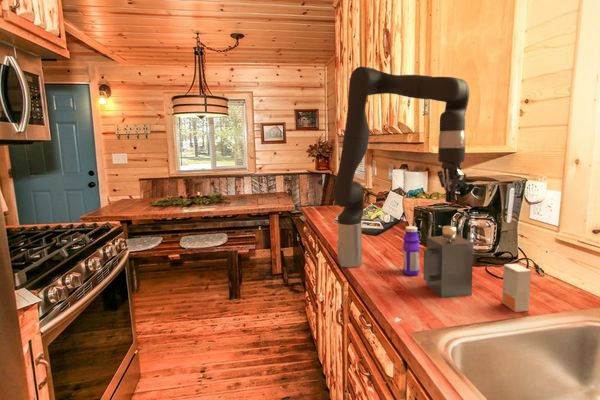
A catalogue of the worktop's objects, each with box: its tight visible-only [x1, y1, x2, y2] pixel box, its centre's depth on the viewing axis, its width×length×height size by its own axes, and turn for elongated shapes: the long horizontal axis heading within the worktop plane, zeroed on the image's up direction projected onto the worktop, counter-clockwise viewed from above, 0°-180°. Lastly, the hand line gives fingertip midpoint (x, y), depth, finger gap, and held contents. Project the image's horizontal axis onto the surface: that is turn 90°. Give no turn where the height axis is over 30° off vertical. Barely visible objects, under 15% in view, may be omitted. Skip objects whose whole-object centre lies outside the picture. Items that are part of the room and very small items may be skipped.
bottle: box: [402, 225, 420, 277], centre depth 131 cm, size 7×6×17 cm
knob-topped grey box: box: [422, 234, 474, 299], centre depth 115 cm, size 13×10×17 cm
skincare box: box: [501, 263, 532, 313], centre depth 102 cm, size 6×4×12 cm
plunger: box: [442, 225, 457, 241], centre depth 115 cm, size 8×8×19 cm
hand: (450, 202), depth 112 cm, fingers closed
